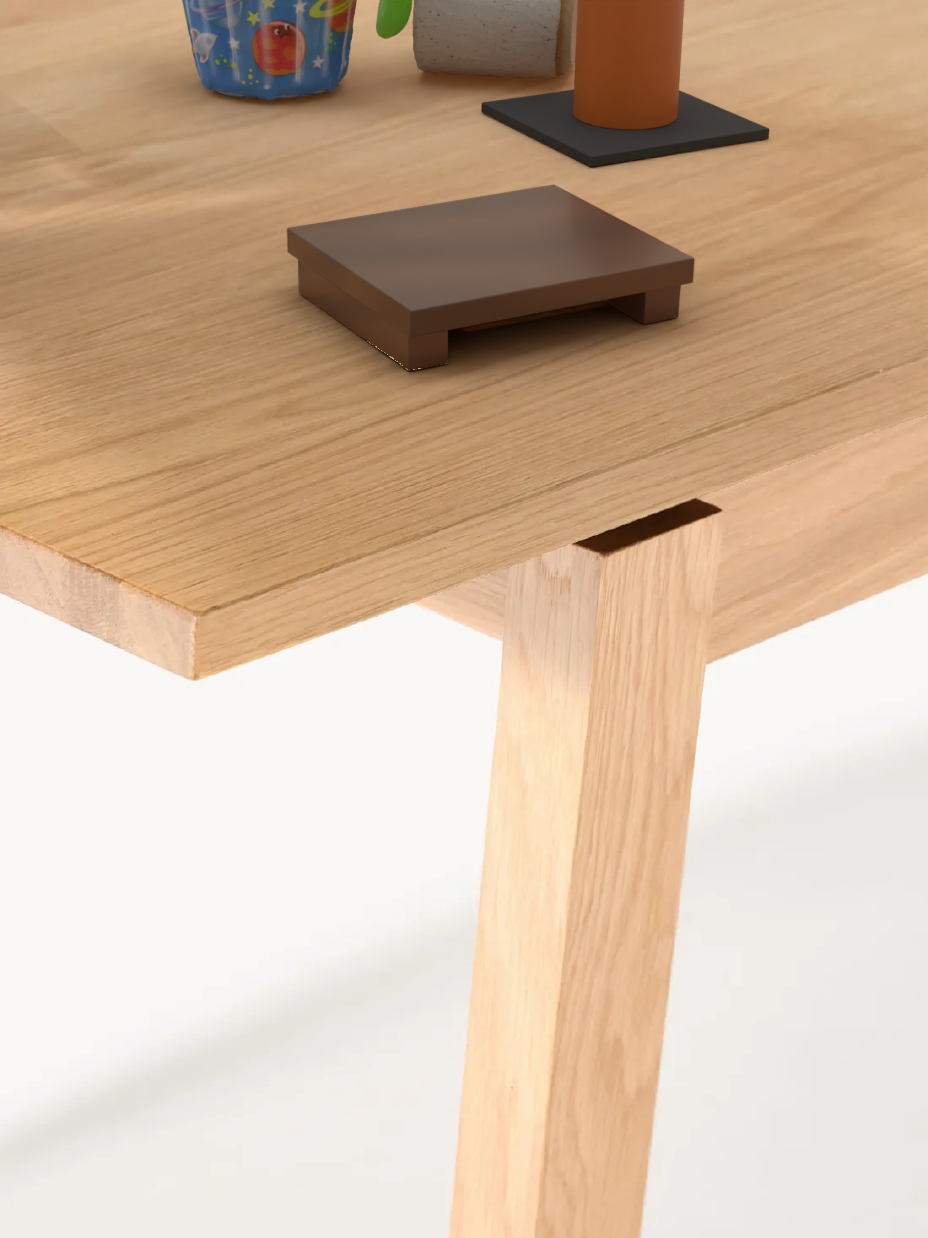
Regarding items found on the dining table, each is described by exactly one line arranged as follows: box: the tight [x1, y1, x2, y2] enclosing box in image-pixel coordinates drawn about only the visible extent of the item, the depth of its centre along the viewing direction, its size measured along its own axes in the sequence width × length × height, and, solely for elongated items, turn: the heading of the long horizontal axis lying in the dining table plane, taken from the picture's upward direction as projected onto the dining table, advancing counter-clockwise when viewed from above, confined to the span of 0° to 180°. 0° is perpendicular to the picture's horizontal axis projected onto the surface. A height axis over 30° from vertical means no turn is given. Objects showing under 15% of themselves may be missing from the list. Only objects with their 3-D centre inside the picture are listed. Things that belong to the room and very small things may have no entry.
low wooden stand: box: [286, 184, 696, 370], centre depth 82 cm, size 10×12×2 cm
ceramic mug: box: [412, 0, 577, 79], centre depth 112 cm, size 11×8×8 cm
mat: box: [480, 88, 770, 168], centre depth 104 cm, size 10×10×1 cm
